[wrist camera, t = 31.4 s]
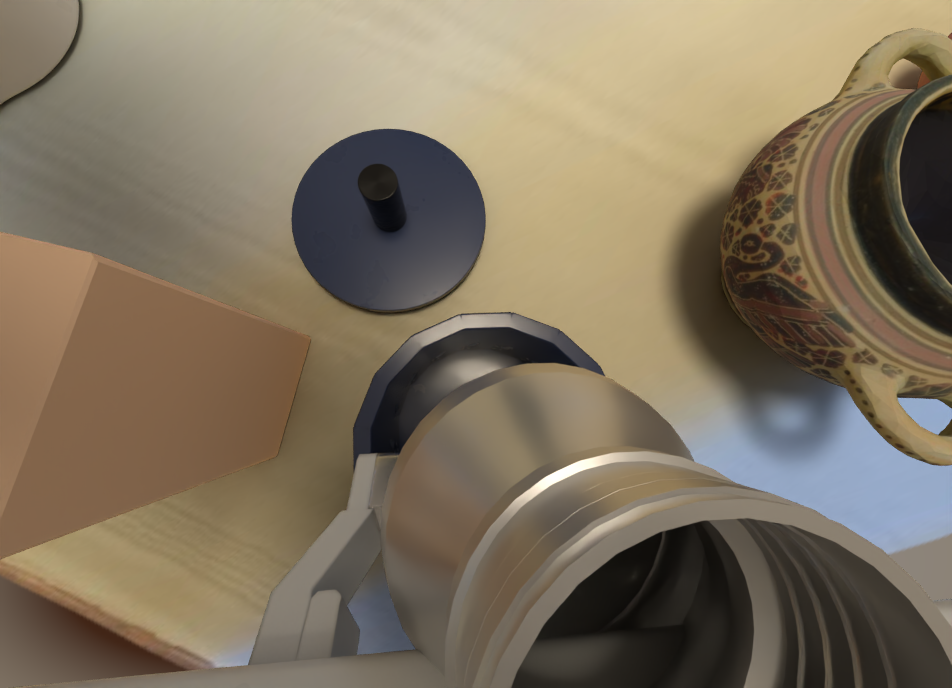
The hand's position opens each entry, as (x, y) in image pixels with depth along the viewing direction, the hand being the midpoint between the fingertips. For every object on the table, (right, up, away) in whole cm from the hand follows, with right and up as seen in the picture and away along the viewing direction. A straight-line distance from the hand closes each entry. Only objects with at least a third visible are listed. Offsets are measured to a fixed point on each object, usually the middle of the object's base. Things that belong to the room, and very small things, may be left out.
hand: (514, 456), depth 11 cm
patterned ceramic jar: (+22, +8, +19) cm, 30 cm away
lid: (-7, +12, +16) cm, 22 cm away
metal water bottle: (-1, -2, +11) cm, 12 cm away
